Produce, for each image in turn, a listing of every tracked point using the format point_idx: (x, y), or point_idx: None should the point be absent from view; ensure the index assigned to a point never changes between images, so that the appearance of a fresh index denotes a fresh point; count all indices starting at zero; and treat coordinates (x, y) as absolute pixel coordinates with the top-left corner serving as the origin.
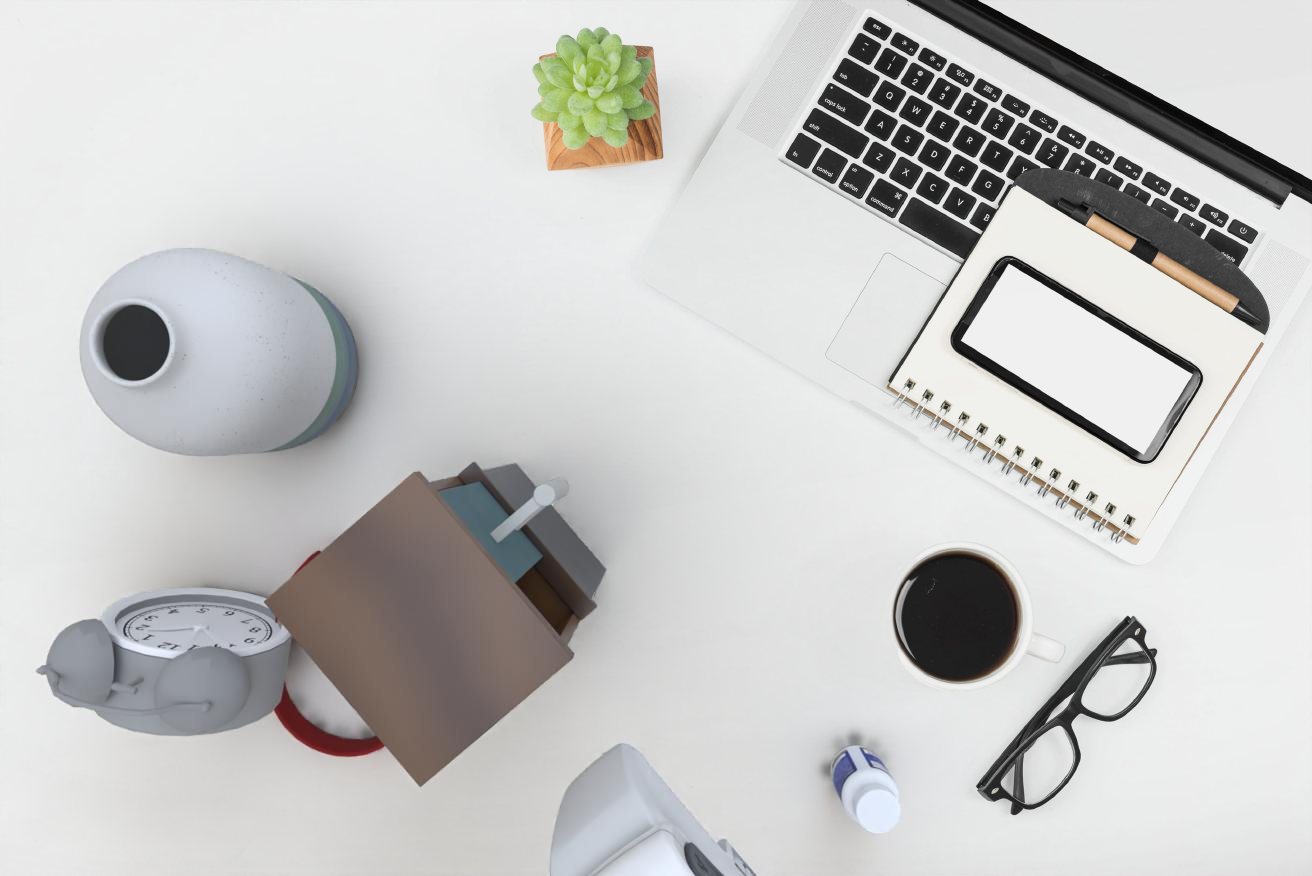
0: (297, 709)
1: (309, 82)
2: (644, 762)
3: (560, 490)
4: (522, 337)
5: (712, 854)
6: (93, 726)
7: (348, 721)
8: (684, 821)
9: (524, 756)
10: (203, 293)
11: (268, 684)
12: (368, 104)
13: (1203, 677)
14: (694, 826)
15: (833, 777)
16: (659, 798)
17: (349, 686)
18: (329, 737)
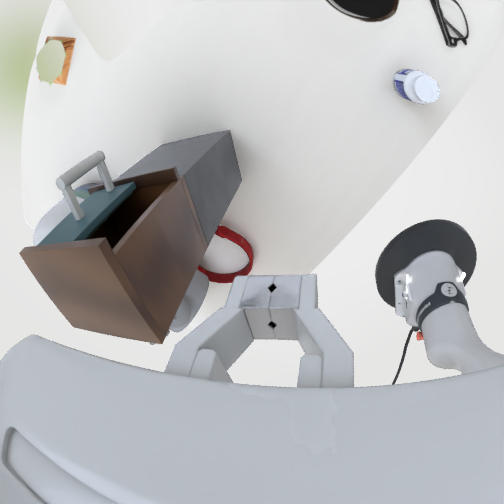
0: (224, 274)
1: (34, 158)
2: (20, 352)
3: (74, 167)
4: (114, 118)
5: (83, 415)
6: (202, 316)
7: (239, 262)
8: (46, 394)
9: (295, 215)
10: (37, 242)
11: (193, 287)
12: (39, 142)
13: None
14: (65, 385)
15: (401, 95)
16: (17, 393)
17: (106, 331)
18: (240, 272)
